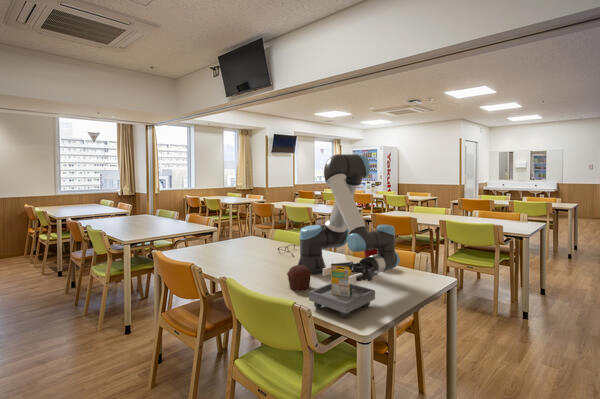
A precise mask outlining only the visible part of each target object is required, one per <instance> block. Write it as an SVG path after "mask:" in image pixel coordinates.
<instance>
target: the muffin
mask: <svg viewBox="0 0 600 399" xmlns="http://www.w3.org/2000/svg"><path fill="white" fill-rule="evenodd" d="M286 275H287V279H288V284H289V289H290V290H292V291H295V292H296V291H297V292H302V291H303V292H304V291H307V290H309V289H310V285H311V277H312V275H313V274H312V273H311V271H310V270H309V269H308V268H307V267H306V266H303V265H298V264H297V265H293V266H292V267H290V268H289V269H288V271H287V273H286Z"/></svg>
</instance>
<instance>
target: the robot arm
mask: <svg viewBox="0 0 600 399" xmlns="http://www.w3.org/2000/svg"><path fill="white" fill-rule="evenodd" d="M370 173H371V164H370V161H369V159H368V157H367V156H365V155H364V154H358V153H355V154H351V153H350V154H347V153H346V154H340V153H339V154H334V155H332V156H330V157H329V158H328V159H327V160H326V163H325V165H324V168H323V178H324V181H325V184H326V185H327V186H328V187H329V188H330V189H331V192H332V195H333V198H334V203H333V207H332V208H331V209H332V210H331V213H330V217H329V219H328V220H326V222H325V223H324V224H325V225H324V227H322V225H319V224H315V225H307V226H304V227H302V228H300V231H299V245H300V246H299V254H300V255H299V260H298V263H297V265H303V266H306V267H307V268H308V269H309V270H310V271H311V273H312V274H311V275H318V274H322V276H323V277H325V276H329V275H331V270H332V269H331V265H334V266H345V267H349V270H351V273H356V274H353V275H352V274H351V276H349V277H348V284H355V283H359V282H362V281H363V282H364V281H366V280H367V282H372V280H373V279H374V277H375V276H377V275H378V274H379V273H381V272H385V271H388V270H392V269H394V268H396V267H398V266H399V265H400V261H401V257H400V256H399V253H398V252H396V248H395V247H396V246H395V245H396V244H395V243H396V230H395V226H393V225H390V224H379V225H377V226H376V230H371V231H368V229H367V226H366V224H365V222H364V220H363V218H362V215H361V213H360V210H359V208H358V206H357V204H356V202H355V199H354V197H355V194H356V190H357V187H359V186H361V184H362V182H363V179H366V178H368V177H369V176H370ZM346 244H347V248H348V249H349V250H350V251H351V252H353V253H357V252H364V251H366V250H371V249H377V254H376V255H372V256H369V257H366V258H365V257H363V258H361V259H360V261H359V262H356V263H354V261H346V262H337V263H331V264H330V266H327V265H326V263H325V261H324V257H323V250H329V249H336V248H337V249H338V248H341V247H344V246H345V245H346ZM326 266H327V267H326ZM337 269H344V268H341V267H339V268H338V267H337Z"/></svg>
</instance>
